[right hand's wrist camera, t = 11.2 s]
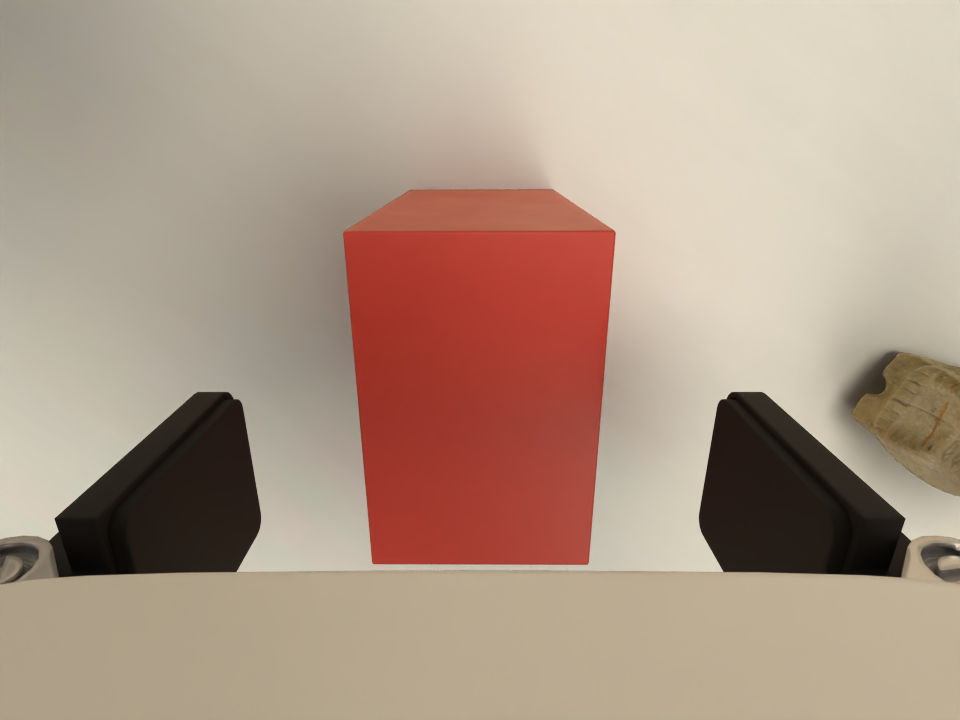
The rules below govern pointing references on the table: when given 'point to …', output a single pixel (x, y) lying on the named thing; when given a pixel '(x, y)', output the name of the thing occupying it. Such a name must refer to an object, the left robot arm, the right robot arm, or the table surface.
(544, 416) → the block
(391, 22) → the table surface
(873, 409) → the sculpture
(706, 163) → the table surface
